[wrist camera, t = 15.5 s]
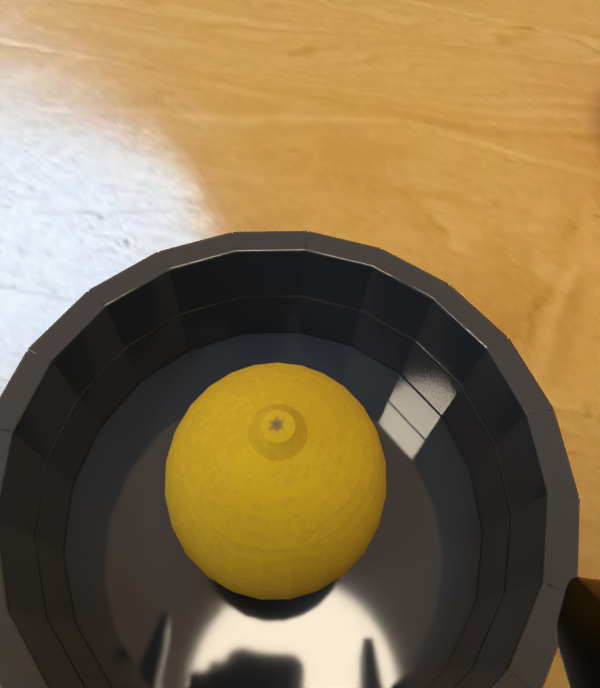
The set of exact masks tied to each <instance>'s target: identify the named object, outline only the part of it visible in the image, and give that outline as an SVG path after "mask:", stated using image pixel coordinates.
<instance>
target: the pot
mask: <svg viewBox="0 0 600 688" xmlns="http://www.w3.org/2000/svg"><path fill="white" fill-rule="evenodd" d="M277 362H278V363H286V364H295V365H302V366H305V367H307V368H310V369H313V370H316V371H318V372H321V373H324V374H325V375H327V376H328V377H330V378H332V379H333V380H335V381H336V382H338V383H339V384H341V385H342V386H344V387H345V388H346V389H347V390H348V391H349V392H350V393H351V394H352V395H353V396H354V397H355V398H356V399H357V400H358V401H359V403H360V404H361V405H362V406H363V407H364V409H365V410H366V412H367V414H368V416H369V417H370V419H371V421H372V423H373V424H374V426H375V428H376V430H377V432H378V436H379V439H380V443H381V446H382V450H383V453H384V457H385V461H386V498H385V502H384V506H383V510H382V514H381V519H380V523H379V526H378V528H377V530H376V532H375V534H374V535H373V537H372V539H371V541H370V543H369V545H368V547H367V549H366V550H365V552H364V554H363V555H362V556H361V557H360V558H359V559H358V560H357V561H356V562H355V564H354V565H353V566H352V567H351V568H350V569H349V570H348V571H347V572H346V573H345V574H344V575H343V576H342V577H340V578H339V579H337V580H335V581H334V582H332V583H330V584H329V585H327V586H326V587H324V588H322V589H321V590H319V591H317V592H313V593H310V594H307V595H303V596H300V597H296V598H293V599H278V600H260V599H256V598H253V597H249V596H246V595H242V594H238V593H235V592H232V591H230V590H229V589H227V588H225V587H224V586H222V585H220V584H219V583H217V582H215V581H214V580H212V579H210V578H209V577H208V576H207V575H206V574H205V573H204V572H203V571H202V570H201V569H200V568H199V567H198V566H197V565H196V564H195V563H194V562H193V561H192V560H191V559H190V558H189V557H188V556H187V555H186V553H185V551H184V549H183V547H182V545H181V543H180V541H179V539H178V537H177V536H176V534H175V532H174V530H173V528H172V525H171V521H170V516H169V512H168V507H167V503H166V498H165V474H166V460H167V457H168V453H169V450H170V447H171V444H172V440H173V437H174V434H175V431H176V429H177V427H178V426H179V424H180V422H181V421H182V419H183V417H184V416H185V414H186V412H187V411H188V409H189V407H190V406H191V404H192V403H193V402H194V401H195V400H196V399H197V398H198V397H199V396H200V395H201V394H202V393H203V392H204V391H205V390H206V389H207V388H208V387H209V386H211V385H212V384H214V383H216V382H217V381H219V380H220V379H222V378H224V377H225V376H227V375H228V374H230V373H232V372H235V371H238V370H241V369H244V368H247V367H250V366H253V365H259V364H268V363H277ZM578 495H579V494H578V491H577V488H576V484H575V481H574V477H573V474H572V470H571V467H570V463H569V460H568V456H567V453H566V449H565V446H564V442H563V439H562V435H561V432H560V428H559V425H558V422H557V418H556V415H555V412H554V411H553V407H552V405H551V404H550V402H549V400H548V399H547V397H546V396H545V394H544V393H543V391H542V389H541V388H540V386H539V385H538V383H537V382H536V380H535V378H534V377H533V375H532V374H531V372H530V371H529V369H528V367H527V366H526V364H525V363H524V361H523V360H522V358H521V356H520V355H519V353H518V352H517V350H516V348H515V347H514V345H513V344H512V342H511V341H510V339H507V336H506V335H505V334H504V333H503V332H501V331H500V330H499V329H498V328H497V327H496V326H495V325H494V324H493V323H492V322H490V321H489V320H488V319H487V318H486V317H485V316H484V315H483V314H482V313H481V312H479V311H478V310H477V309H476V308H475V307H474V306H473V305H472V304H471V303H470V302H468V301H467V300H466V299H465V298H464V297H463V296H462V295H461V294H460V293H459V292H457V291H456V290H455V289H454V288H453V287H452V286H450V285H448V283H446V282H444V281H443V280H441V279H439V278H437V277H435V276H433V275H431V274H429V273H427V272H425V271H423V270H421V269H420V268H418V267H416V266H414V265H412V264H410V263H408V262H406V261H404V260H402V259H400V258H398V257H397V256H395V255H393V254H391V253H389V252H387V251H385V250H383V249H381V250H380V248H378V247H373V246H369V245H365V244H361V243H356V242H352V241H348V240H344V239H340V238H335V237H331V236H327V235H323V234H318V233H314V232H308V233H307V231H266V232H233V234H232V233H227V234H223V235H219V236H215V237H212V238H208V239H204V240H200V241H196V242H193V243H189V244H185V245H181V246H177V247H174V248H170V249H166V250H162V251H160V252H159V253H158V252H156V253H154V254H152V255H151V256H149V257H147V258H145V259H143V260H142V261H140V262H138V263H136V264H135V265H133V266H131V267H129V268H127V269H126V270H124V271H122V272H120V273H118V274H117V275H115V276H113V277H111V278H109V279H108V280H106V281H104V282H102V283H100V284H99V285H97V286H95V287H93V288H91V289H90V290H89V292H86V293H85V294H84V295H83V296H82V297H81V298H80V299H79V300H78V301H77V302H76V303H75V304H74V305H73V306H71V307H70V308H69V309H68V310H67V311H66V312H65V313H64V314H63V315H62V316H61V317H60V318H59V319H58V320H57V321H56V322H55V323H54V324H53V325H52V326H51V327H50V328H49V329H48V330H47V331H46V332H45V333H44V334H43V335H42V336H41V337H40V338H38V339H37V340H36V341H35V342H34V343H33V344H32V345H31V346H30V347H29V349H28V351H27V352H26V353H25V355H24V356H23V358H22V360H21V362H20V363H19V365H18V367H17V369H16V370H15V372H14V374H13V375H12V377H11V379H10V381H9V382H8V384H7V386H6V388H5V389H4V391H3V393H2V395H1V396H0V688H543V687H544V684H545V681H546V679H547V676H548V673H549V671H550V668H551V665H552V662H553V660H554V657H555V654H556V652H557V649H558V643H557V638H556V625H557V621H558V617H559V613H560V609H561V606H562V602H563V598H564V594H565V591H566V587H567V585H568V582H569V581H570V580H571V579H573V578H574V577H578V544H579V504H580V500H579V498H578Z"/></svg>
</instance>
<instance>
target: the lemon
mask: <svg viewBox="0 0 600 688" xmlns="http://www.w3.org/2000/svg"><path fill="white" fill-rule="evenodd" d="M165 498H166V503H167V507H168V512H169V516H170V521H171V525H172V528H173V530H174V532H175V534H176V536H177V537H178V539H179V541H180V543H181V545H182V547H183V549H184V551H185V553H186V555H187V556H188V557H189V558H190V559H191V560H192V561H193V562H194V563H195V564H196V565H197V566H198V567H199V568H200V569H201V570H202V571H203V572H204V573H205V574H206V575H207V576H208V577H209V578H210V579H212V580H214V581H215V582H217V583H219V584H220V585H222V586H224V587H225V588H227V589H229V590H230V591H232V592H235V593H238V594H242V595H246V596H249V597H253V598H256V599H260V600H278V599H293V598H296V597H300V596H303V595H307V594H310V593H313V592H317V591H319V590H321V589H322V588H324V587H326V586H327V585H329V584H330V583H332V582H334V581H335V580H337V579H339V578H340V577H342V576H343V575H344V574H345V573H346V572H347V571H348V570H349V569H350V568H351V567H352V566H353V565H354V564H355V562H356V561H357V560H358V559H359V558H360V557H361V556H362V555H363V554H364V552H365V550H366V549H367V547H368V545H369V543H370V541H371V539H372V537H373V535H374V534H375V532H376V530H377V528H378V526H379V523H380V519H381V514H382V510H383V506H384V502H385V498H386V461H385V457H384V453H383V450H382V446H381V443H380V439H379V436H378V432H377V430H376V428H375V426H374V424H373V423H372V421H371V419H370V417H369V416H368V414H367V412H366V410H365V409H364V407H363V406H362V405H361V404H360V403H359V401H358V400H357V399H356V398H355V397H354V396H353V395H352V394H351V393H350V392H349V391H348V390H347V389H346V388H345V387H344V386H342V385H341V384H339V383H338V382H336V381H335V380H333V379H332V378H330V377H328V376H327V375H325V374H324V373H321V372H318V371H316V370H313V369H310V368H307V367H305V366H302V365H295V364H286V363H278V362H277V363H268V364H259V365H253V366H250V367H247V368H244V369H241V370H238V371H235V372H232V373H230V374H228V375H227V376H225V377H224V378H222V379H220V380H219V381H217V382H216V383H214V384H212V385H211V386H209V387H208V388H207V389H206V390H205V391H204V392H203V393H202V394H201V395H200V396H199V397H198V398H197V399H196V400H195V401H194V402H193V403H192V404H191V406H190V407H189V409H188V411H187V412H186V414H185V416H184V417H183V419H182V421H181V422H180V424H179V426H178V427H177V429H176V431H175V434H174V437H173V440H172V444H171V447H170V450H169V453H168V457H167V460H166V474H165Z"/></svg>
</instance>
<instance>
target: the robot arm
mask: <svg viewBox="0 0 600 688" xmlns="http://www.w3.org/2000/svg"><path fill="white" fill-rule="evenodd" d="M556 638H557V643H558V647H559V650H560V654H561V657H562V661H563V664H564V667H565V671H566V674H567V678H568V681H569V685H570V688H600V580H598V579H589V578H580V577H574V578H573V579H571V580H570V581H569V582H568V585H567V587H566V591H565V594H564V598H563V602H562V606H561V609H560V613H559V617H558V621H557V625H556Z"/></svg>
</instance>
